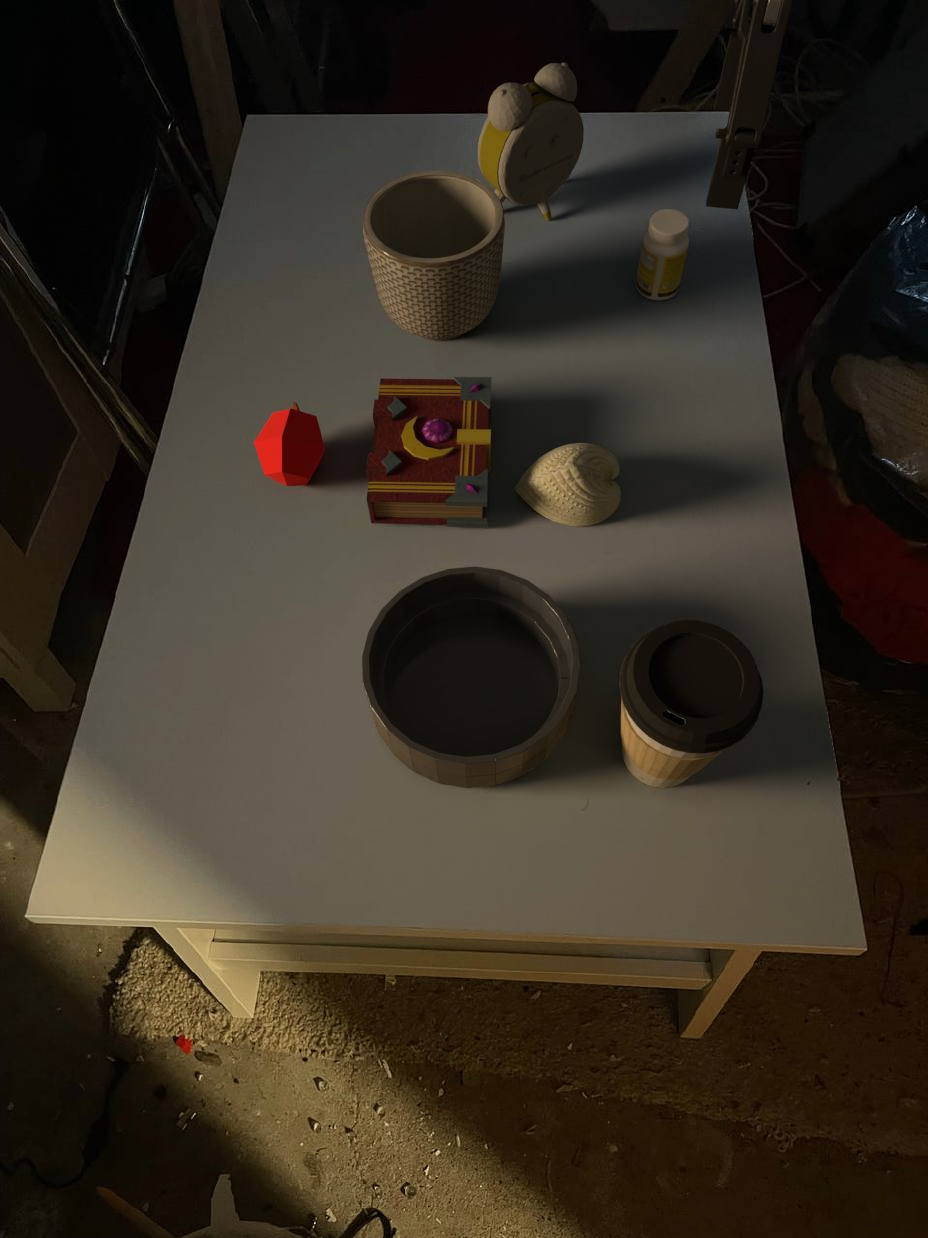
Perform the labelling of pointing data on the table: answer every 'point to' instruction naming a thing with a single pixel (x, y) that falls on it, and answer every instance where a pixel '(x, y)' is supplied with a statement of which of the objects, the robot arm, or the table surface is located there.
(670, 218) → the supplement bottle
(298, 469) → the apple
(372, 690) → the bowl
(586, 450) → the seashell
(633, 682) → the coffee cup
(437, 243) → the planter
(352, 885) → the table surface
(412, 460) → the decorative book
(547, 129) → the alarm clock
